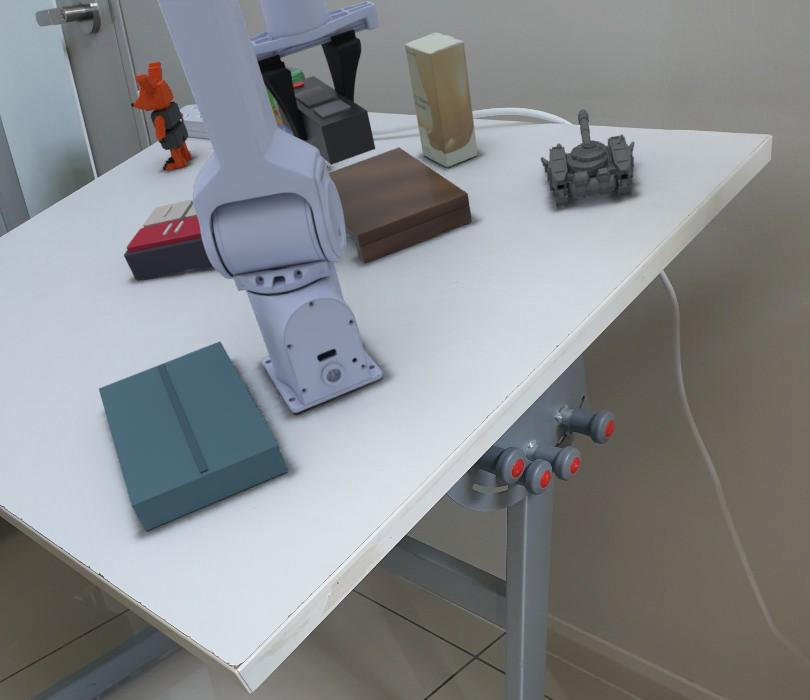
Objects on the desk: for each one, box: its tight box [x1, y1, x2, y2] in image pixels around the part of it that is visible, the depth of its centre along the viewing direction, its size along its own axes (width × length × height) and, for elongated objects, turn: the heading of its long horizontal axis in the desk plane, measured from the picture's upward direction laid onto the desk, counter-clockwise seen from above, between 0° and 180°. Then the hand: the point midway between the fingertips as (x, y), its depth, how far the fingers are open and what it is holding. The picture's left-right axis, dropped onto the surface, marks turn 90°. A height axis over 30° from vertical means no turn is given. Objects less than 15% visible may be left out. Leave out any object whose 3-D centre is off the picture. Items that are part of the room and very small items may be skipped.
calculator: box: [123, 199, 213, 281], centre depth 95 cm, size 11×4×15 cm
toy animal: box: [130, 61, 193, 171], centre depth 116 cm, size 8×6×12 cm
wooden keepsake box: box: [329, 147, 473, 264], centre depth 92 cm, size 18×12×3 cm, turn 23°
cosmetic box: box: [404, 31, 478, 168], centre depth 98 cm, size 6×4×12 cm
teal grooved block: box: [98, 341, 289, 532], centre depth 69 cm, size 18×11×3 cm, turn 23°
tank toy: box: [540, 108, 635, 207], centre depth 87 cm, size 12×10×5 cm
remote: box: [277, 75, 376, 166], centre depth 85 cm, size 16×4×4 cm, turn 23°
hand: (325, 130), depth 85 cm, fingers closed on remote, 4 cm apart
